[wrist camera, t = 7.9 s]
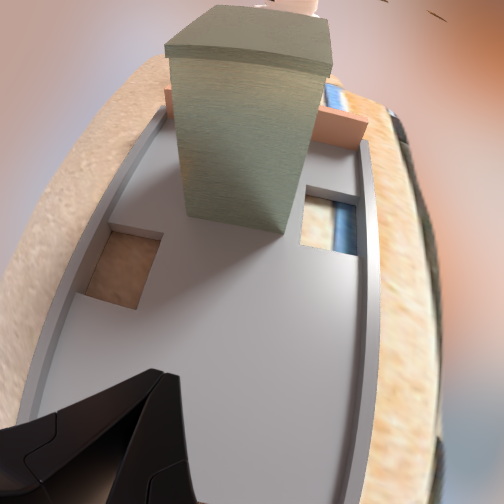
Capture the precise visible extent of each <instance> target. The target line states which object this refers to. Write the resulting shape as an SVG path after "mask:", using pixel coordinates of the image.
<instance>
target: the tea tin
mask: <svg viewBox="0 0 504 504" xmlns="http://www.w3.org/2000/svg"><path fill="white" fill-rule="evenodd" d="M164 46H165V58H169V66H170V79H171V90H172V101H173V111H174V120H175V129H176V138H177V147H178V155H179V163H180V170H181V178H182V185H183V192H184V199H185V206H186V213H187V216H188V217H193V218H199V219H204V220H210V221H215V222H221V223H226V224H231V225H237V226H242V227H247V228H252V229H258V230H263V231H268V232H273V233H278V234H283V235H284V233H285V230H286V226H287V223H288V219H289V216H290V212H291V209H292V205H293V202H294V198H295V195H296V191H297V187H298V184H299V180H300V176H301V173H302V169H303V165H304V162H305V158H306V154H307V151H308V147H309V143H310V139H311V136H312V132H313V128H314V124H315V120H316V116H317V113H318V109H319V105H320V101H321V97H322V93H323V89H324V85H325V81H326V77H327V78H330V74H331V70H332V66H333V61H332V51H331V41H330V33H329V25H328V20H327V19H323V18H318V17H314V16H308V15H303V14H298V13H292V12H286V11H279V10H272V9H264V8H254V7H244V6H228V5H216V6H214V7H213V8H211V9H210V10H208V11H207V12H206V13H204V14H203V15H202V16H200V17H199V18H197V19H196V20H195V21H193V22H192V23H191V24H189V25H188V26H187V27H186V28H184V29H183V30H182V31H180V32H179V33H178V34H177V35H176V36H174V37H173V38H172V39H170V40H169V41H168V42H167V43H166V44H165V45H164Z"/></svg>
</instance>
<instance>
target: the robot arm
mask: <svg viewBox="0 0 504 504" xmlns="http://www.w3.org/2000/svg"><path fill="white" fill-rule="evenodd" d="M188 460H189V459H188V451H187V443H186V435H185V425H184V415H183V405H182V393H181V381H180V376H179V375H176V374H172V373H168V372H167V373H165V372H164V371H161V370H157V369H154V368H150V369H147V370H145V371H143V372H141V373H139V374H137V375H135V376H133V377H131V378H129V379H127V380H125V381H122V382H120V383H118V384H116V385H114V386H112V387H110V388H107V389H105V390H103V391H101V392H99V393H96V394H94V395H92V396H90V397H87V398H85V399H83V400H81V401H78V402H76V403H74V404H72V405H69V406H67V407H65V408H62V409H60V410H58V411H57V413H56V412H52V413H50V414H48V415H45V416H43V417H40V418H37V419H35V420H32V421H29V422H26V423H23V424H19V425H16V426H13V427H9V428H5V429H1V430H0V504H198V502H197V499H196V496H195V492H194V488H193V484H192V478H191V473H190V466H189V462H188Z"/></svg>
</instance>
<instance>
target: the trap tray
mask: <svg viewBox="0 0 504 504" xmlns="http://www.w3.org/2000/svg"><path fill="white" fill-rule="evenodd" d="M164 91H165V100H166V106H161V107H160V109H159V110H158V111H157V113H156V114H155V115H154V117H153V118H152V120H151V121H150V122H149V124H148V125H147V127H146V128H145V130H144V131H143V132H142V134H141V135H140V137H139V138H138V140H137V141H136V143H135V144H134V146H133V147H132V149H131V150H130V152H129V153H128V155H127V157H126V158H125V160H124V161H123V163H122V165H121V166H120V168H119V169H118V171H117V173H116V174H115V176H114V178H113V179H112V181H111V183H110V184H109V186H108V188H107V190H106V191H105V193H104V195H103V197H102V198H101V200H100V202H99V204H98V206H97V207H96V209H95V211H94V213H93V215H92V217H91V219H90V220H89V222H88V224H87V226H86V228H85V230H84V232H83V234H82V236H81V238H80V240H79V242H78V244H77V246H76V248H75V251H74V253H73V255H72V257H71V259H70V261H69V263H68V266H67V268H66V270H65V272H64V275H63V277H62V279H61V282H60V284H59V286H58V289H57V291H56V294H55V296H54V299H53V301H52V304H51V306H50V309H49V312H48V314H47V317H46V320H45V322H44V325H43V328H42V331H41V334H40V337H39V340H38V343H37V346H36V349H35V352H34V355H33V359H32V362H31V365H30V369H29V372H28V376H27V380H26V384H25V387H24V391H23V395H22V400H21V404H20V408H19V413H18V418H17V423H16V425H19V424H23V423H26V422H29V421H32V420H35V419H37V418H40V417H43V416H45V415H48V414H50V413H52V412H56V413H57V411H58V410H60V409H62V408H65V407H67V406H69V405H72V404H74V403H76V402H78V401H81V400H83V399H85V398H87V397H90V396H92V395H94V394H96V393H99V392H101V391H103V390H105V389H107V388H110V387H112V386H114V385H116V384H118V383H120V382H122V381H125V380H127V379H129V378H131V377H133V376H135V375H137V374H139V373H141V372H143V371H145V370H147V369H150V368H154V369H157V370H161V371H164V372H165V373H167V372H168V373H172V374H176V375H179V376H180V381H181V393H182V405H183V415H184V425H185V435H186V443H187V451H188V459H189V460H188V462H189V466H190V473H191V478H192V484H193V488H194V492H195V496H196V499H197V502H202V503H206V504H359V501H360V497H361V492H362V487H363V482H364V477H365V472H366V466H367V461H368V455H369V448H370V442H371V435H372V427H373V419H374V411H375V401H376V391H377V379H378V365H379V346H380V256H379V237H378V222H377V210H376V199H375V189H374V180H373V172H372V164H371V157H370V150H369V143H368V141H367V140H364V139H362V137H363V135H364V132H365V130H366V127H367V125H368V119H367V117H363V116H360V115H356V114H353V113H349V112H345V111H341V110H337V109H333V108H329V107H325V106H320V105H319V109H318V113H317V116H316V120H315V124H314V128H313V132H312V136H311V139H310V143H309V147H308V151H307V154H306V158H305V162H304V165H303V169H302V173H301V176H300V180H299V184H298V187H297V191H296V195H295V198H294V202H293V205H292V209H291V212H290V216H289V219H288V223H287V226H286V230H285V233H284V235H283V234H278V233H273V232H268V231H263V230H258V229H252V228H247V227H242V226H237V225H231V224H226V223H221V222H215V221H210V220H204V219H199V218H193V217H188V216H187V213H186V206H185V199H184V192H183V185H182V178H181V170H180V163H179V155H178V147H177V138H176V129H175V120H174V111H173V101H172V90H171V85H167V87H166V88H165V89H164ZM305 194H306V195H310V196H315V197H320V198H324V199H329V200H333V201H337V202H342V203H346V204H350V205H355V206H356V220H357V256H353V255H349V254H344V253H339V252H334V251H329V250H324V249H319V248H314V247H309V246H304V245H300V238H301V229H302V220H303V211H304V201H305ZM112 231H115V232H120V233H125V234H130V235H135V236H139V237H144V238H149V239H154V240H159V241H161V243H160V245H159V248H158V250H157V253H156V256H155V258H154V261H153V264H152V266H151V269H150V272H149V275H148V277H147V280H146V283H145V286H144V289H143V292H142V295H141V298H140V300H139V303H138V306H137V309H136V310H134V309H131V308H127V307H123V306H120V305H116V304H113V303H109V302H106V301H103V300H99V299H96V298H93V297H90V296H86V295H84V294H85V292H86V289H87V287H88V284H89V282H90V279H91V277H92V275H93V272H94V270H95V267H96V265H97V263H98V260H99V258H100V256H101V254H102V251H103V249H104V247H105V245H106V243H107V240H108V238H109V236H110V234H111V232H112Z"/></svg>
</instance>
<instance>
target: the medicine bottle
mask: <svg viewBox="0 0 504 504" xmlns="http://www.w3.org/2000/svg"><path fill="white" fill-rule="evenodd" d="M265 4H266V5H254V6H253V7H254V8H264V9H272V10H279V11H286V12H292V13H298V14H303V15H308V16H314V17H318V16H317V15H315V14H314V13H313V12H316V10H317V5H318V0H265ZM318 18H320V17H318ZM328 25H329V23H328Z"/></svg>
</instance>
